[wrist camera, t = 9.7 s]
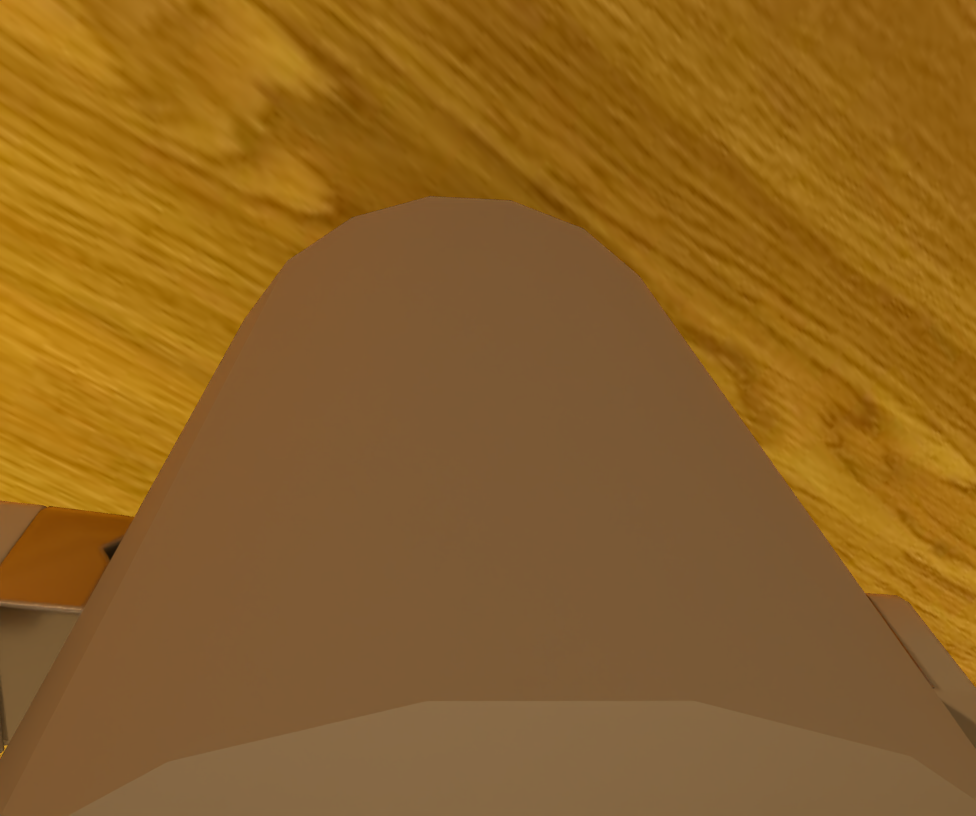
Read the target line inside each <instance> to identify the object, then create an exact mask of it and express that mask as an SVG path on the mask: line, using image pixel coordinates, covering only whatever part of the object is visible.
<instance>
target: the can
mask: <svg viewBox="0 0 976 816" xmlns="http://www.w3.org/2000/svg"><path fill="white" fill-rule="evenodd" d="M0 816H976V749H975V748H974V746H973V745H972V743H971V742H970V741H969V739H968V738H967V736H966V735H965V733H964V732H963V731H962V729H961V728H960V726H959V725H958V724H957V722H956V721H955V719H954V718H953V717H952V715H951V714H950V712H949V711H948V710H947V708H946V707H945V705H944V704H943V703H942V701H941V700H940V698H939V697H938V696H937V694H936V693H935V691H934V690H933V688H932V687H931V686H930V684H929V683H928V681H927V680H926V679H925V677H924V676H923V674H922V673H921V672H920V670H919V669H918V667H917V666H916V665H915V663H914V662H913V660H912V659H911V658H910V656H909V655H908V653H907V652H906V651H905V649H904V648H903V646H902V645H901V643H900V642H899V641H898V639H897V638H896V636H895V635H894V634H893V632H892V631H891V629H890V628H889V627H888V625H887V624H886V622H885V621H884V620H883V618H882V617H881V615H880V614H879V613H878V611H877V610H876V608H875V607H874V606H873V604H872V603H871V601H870V600H869V598H868V597H867V596H866V594H865V593H864V591H863V590H862V589H861V587H860V586H859V584H858V583H857V582H856V580H855V579H854V577H853V576H852V575H851V573H850V572H849V570H848V569H847V568H846V566H845V565H844V563H843V562H842V561H841V559H840V558H839V556H838V555H837V553H836V552H835V551H834V549H833V548H832V546H831V545H830V544H829V542H828V541H827V539H826V538H825V537H824V535H823V534H822V532H821V531H820V530H819V528H818V527H817V525H816V524H815V523H814V521H813V520H812V518H811V517H810V516H809V514H808V513H807V511H806V510H805V508H804V507H803V506H802V504H801V503H800V501H799V500H798V499H797V497H796V496H795V494H794V493H793V492H792V490H791V489H790V487H789V486H788V485H787V483H786V482H785V480H784V479H783V478H782V476H781V475H780V473H779V472H778V471H777V469H776V468H775V466H774V465H773V463H772V462H771V461H770V459H769V458H768V456H767V455H766V454H765V452H764V451H763V449H762V448H761V447H760V445H759V444H758V442H757V441H756V440H755V438H754V437H753V435H752V434H751V433H750V431H749V430H748V428H747V427H746V426H745V424H744V423H743V421H742V420H741V418H740V417H739V416H738V414H737V413H736V411H735V410H734V409H733V407H732V406H731V404H730V403H729V402H728V400H727V399H726V397H725V396H724V395H723V393H722V392H721V390H720V389H719V388H718V386H717V385H716V383H715V382H714V381H713V379H712V378H711V376H710V375H709V373H708V372H707V371H706V369H705V368H704V366H703V365H702V364H701V362H700V361H699V359H698V358H697V357H696V355H695V354H694V352H693V351H692V350H691V348H690V347H689V345H688V344H687V343H686V341H685V340H684V338H683V337H682V336H681V334H680V333H679V331H678V330H677V328H676V327H675V326H674V324H673V323H672V321H671V320H670V319H669V317H668V316H667V314H666V313H665V312H664V310H663V309H662V307H661V306H660V305H659V303H658V302H657V300H656V299H655V298H654V296H653V295H652V293H651V292H650V291H649V289H648V288H647V286H646V285H645V283H644V282H643V281H642V279H641V278H640V276H639V275H637V274H636V273H635V272H634V271H633V270H632V269H630V268H629V267H628V266H627V265H626V264H624V263H623V262H622V261H621V260H620V259H619V258H617V257H616V256H615V255H614V254H613V253H611V252H610V251H609V250H608V249H607V248H606V247H604V246H603V245H602V244H601V243H600V242H599V241H597V240H596V239H595V238H594V237H593V236H591V235H590V234H589V233H588V232H587V231H586V230H584V229H583V228H580V227H578V226H575V225H573V224H570V223H568V222H565V221H562V220H560V219H557V218H555V217H552V216H550V215H547V214H544V213H542V212H539V211H537V210H534V209H532V208H529V207H526V206H524V205H521V204H519V203H516V202H514V201H511V200H493V199H473V198H454V197H434V196H429V197H425V198H422V199H418V200H414V201H411V202H407V203H403V204H400V205H396V206H392V207H389V208H385V209H381V210H378V211H374V212H370V213H367V214H363V215H359V216H356V217H352V218H350V219H349V220H348V221H346V222H345V223H343V224H342V225H340V226H339V227H337V228H336V229H334V230H333V231H331V232H330V233H328V234H327V235H325V236H324V237H322V238H321V239H319V240H318V241H316V242H315V243H313V244H312V245H310V246H309V247H307V248H306V249H304V250H303V251H301V252H300V253H298V254H297V255H295V256H294V257H292V258H291V259H289V260H288V261H287V262H286V264H285V265H284V266H283V268H282V269H281V270H280V272H279V273H278V274H277V276H276V277H275V279H274V280H273V281H272V283H271V284H270V285H269V287H268V288H267V289H266V291H265V292H264V293H263V295H262V296H261V298H260V299H259V300H258V302H257V303H256V304H255V306H254V307H253V308H252V310H251V311H250V312H249V314H248V315H247V316H246V318H245V319H244V321H243V323H242V325H241V326H240V328H239V330H238V332H237V334H236V335H235V337H234V339H233V341H232V343H231V344H230V346H229V348H228V350H227V352H226V353H225V355H224V357H223V359H222V361H221V362H220V364H219V366H218V368H217V370H216V371H215V373H214V375H213V377H212V379H211V380H210V382H209V384H208V386H207V388H206V389H205V391H204V393H203V395H202V397H201V398H200V400H199V402H198V404H197V406H196V407H195V409H194V411H193V413H192V415H191V416H190V418H189V420H188V422H187V424H186V425H185V427H184V429H183V431H182V433H181V434H180V436H179V438H178V440H177V442H176V443H175V445H174V447H173V449H172V451H171V452H170V454H169V456H168V458H167V460H166V461H165V463H164V465H163V467H162V469H161V470H160V472H159V474H158V476H157V478H156V479H155V481H154V483H153V485H152V487H151V488H150V490H149V492H148V494H147V496H146V497H145V499H144V501H143V503H142V505H141V506H140V508H139V510H138V512H137V514H136V515H135V517H134V519H133V521H132V523H131V524H130V526H129V528H128V530H127V532H126V533H125V535H124V537H123V539H122V541H121V542H120V544H119V546H118V548H117V550H116V551H115V553H114V555H113V557H112V559H111V560H110V562H109V564H108V566H107V568H106V569H105V571H104V573H103V575H102V577H101V579H100V580H99V582H98V584H97V586H96V588H95V589H94V591H93V593H92V595H91V597H90V598H89V600H88V602H87V604H86V606H85V607H84V609H83V611H82V613H81V615H80V616H79V618H78V620H77V622H76V624H75V625H74V627H73V629H72V631H71V633H70V634H69V636H68V638H67V640H66V642H65V643H64V645H63V647H62V649H61V651H60V652H59V654H58V656H57V658H56V660H55V661H54V663H53V665H52V667H51V669H50V670H49V672H48V674H47V676H46V678H45V679H44V681H43V683H42V685H41V687H40V688H39V690H38V692H37V694H36V696H35V697H34V699H33V701H32V703H31V705H30V706H29V708H28V710H27V712H26V714H25V715H24V717H23V719H22V721H21V723H20V724H19V726H18V728H17V730H16V732H15V733H14V735H13V737H12V739H11V741H10V742H9V744H8V746H7V748H6V750H5V751H4V753H3V755H2V757H1V759H0Z"/></svg>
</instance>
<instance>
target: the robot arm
mask: <svg viewBox="0 0 976 816" xmlns="http://www.w3.org/2000/svg"><path fill="white" fill-rule="evenodd" d="M133 519H134V517H132V516H124V515H116V514H108V513H101V512H93V511H85V510H77V509H69V508H61V507H53V506H49V507H46V506H43V505H35V504H26V503H17V502H8V501H0V753H1V752H2V751H4V745H8V744H9V742H10V741H11V739H12V737H13V735H14V733H15V732H16V730H17V728H18V726H19V724H20V723H21V721H22V719H23V717H24V715H25V714H26V712H27V710H28V708H29V706H30V705H31V703H32V701H33V699H34V697H35V696H36V694H37V692H38V690H39V688H40V687H41V685H42V683H43V681H44V679H45V678H46V676H47V674H48V672H49V670H50V669H51V667H52V665H53V663H54V661H55V660H56V658H57V656H58V654H59V652H60V651H61V649H62V647H63V645H64V643H65V642H66V640H67V638H68V636H69V634H70V633H71V631H72V629H73V627H74V625H75V624H76V622H77V620H78V618H79V616H80V615H81V613H82V611H83V609H84V607H85V606H86V604H87V602H88V600H89V598H90V597H91V595H92V593H93V591H94V589H95V588H96V586H97V584H98V582H99V580H100V579H101V577H102V575H103V573H104V571H105V569H106V568H107V566H108V564H109V562H110V560H111V559H112V557H113V555H114V553H115V551H116V550H117V548H118V546H119V544H120V542H121V541H122V539H123V537H124V535H125V533H126V532H127V530H128V528H129V526H130V524H131V523H132V521H133ZM865 594H866V596H867V597H868V598H869V600H870V601H871V603H872V604H873V606H874V607H875V608H876V610H877V611H878V613H879V614H880V615H881V617H882V618H883V620H884V621H885V622H886V624H887V625H888V627H889V628H890V629H891V631H892V632H893V634H894V635H895V636H896V638H897V639H898V641H899V642H900V643H901V645H902V646H903V648H904V649H905V651H906V652H907V653H908V655H909V656H910V658H911V659H912V660H913V662H914V663H915V665H916V666H917V667H918V669H919V670H920V672H921V673H922V674H923V676H924V677H925V679H926V680H927V681H928V683H929V684H930V686H931V687H932V688H933V690H934V691H935V693H936V694H937V696H938V697H939V698H940V700H941V701H942V703H943V704H944V705H945V707H946V708H947V710H948V711H949V712H950V714H951V715H952V717H953V718H954V719H955V721H956V722H957V724H958V725H959V726H960V728H961V729H962V731H963V732H964V733H965V735H966V736H967V738H968V739H969V741H970V742H971V743H972V745H973V746H974V748H975V749H976V688H975V686H974V685H973V684H972V683H971V681H970V680H969V679H968V678H967V676H966V675H965V674H964V672H963V671H962V670H961V669H960V667H959V666H958V665H957V664H956V662H955V661H954V660H953V658H952V657H951V656H950V655H949V653H948V652H947V651H946V649H945V648H944V647H943V646H942V644H941V643H940V642H939V641H938V639H937V638H936V637H935V635H934V634H933V633H932V632H931V630H930V629H929V628H928V627H927V625H926V624H925V623H924V621H923V620H922V619H921V618H920V616H919V615H918V614H917V613H916V611H915V610H914V609H913V607H912V606H911V605H910V604H909V602H907V601H905V600H904V599H902V598H900V597H898V596H897V595H884V594H870V593H865Z"/></svg>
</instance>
